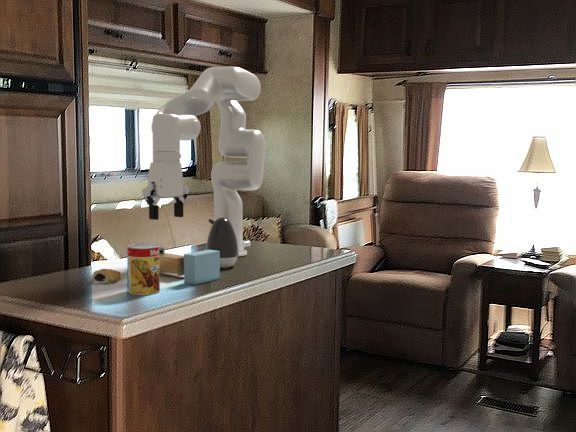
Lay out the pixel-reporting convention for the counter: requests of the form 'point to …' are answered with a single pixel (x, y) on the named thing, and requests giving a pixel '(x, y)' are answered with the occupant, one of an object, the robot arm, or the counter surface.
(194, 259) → the socket block
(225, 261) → the pump dispenser
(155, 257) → the canned food
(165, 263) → the tan wooden plank
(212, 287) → the counter surface
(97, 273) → the pastry
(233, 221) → the robot arm
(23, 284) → the counter surface
